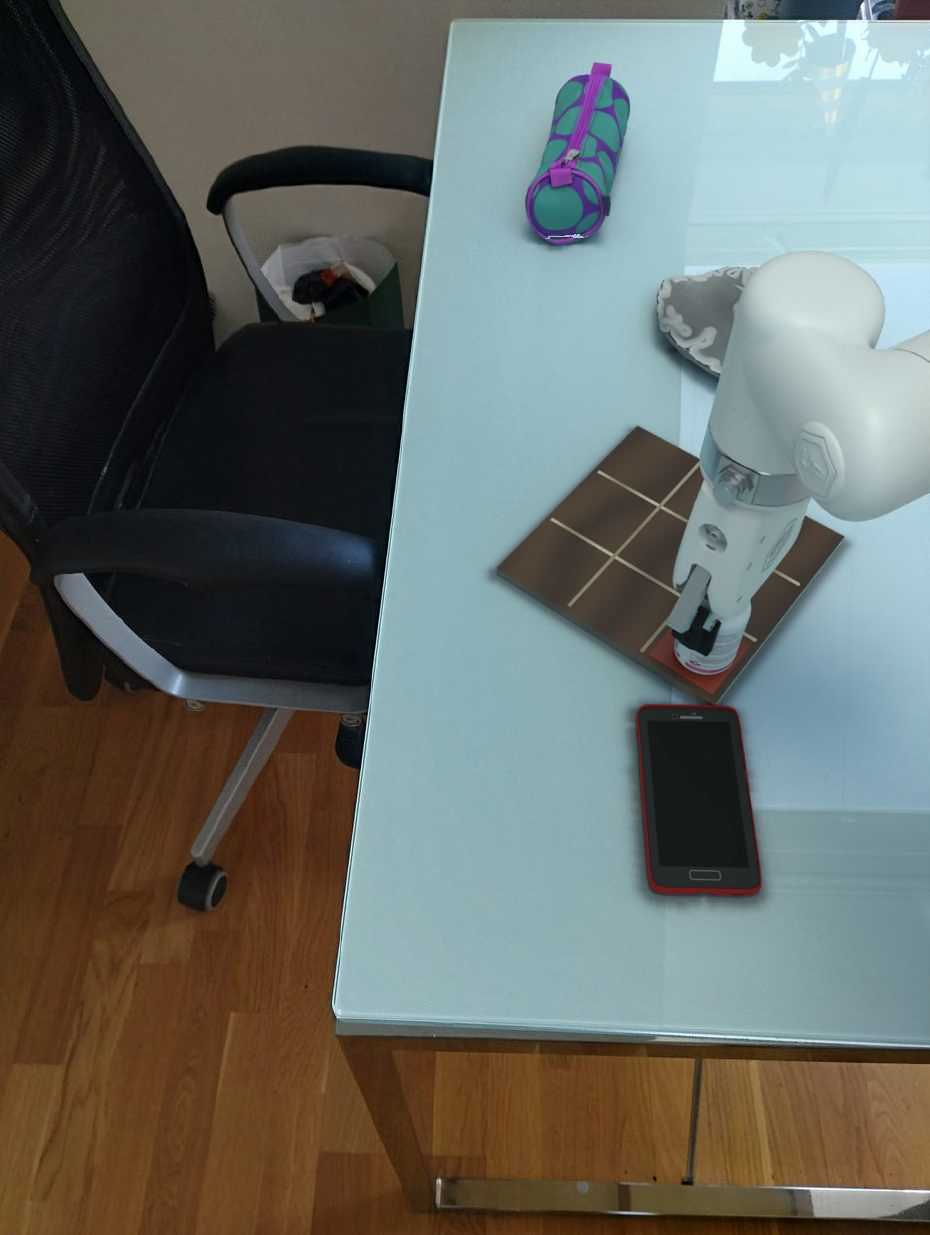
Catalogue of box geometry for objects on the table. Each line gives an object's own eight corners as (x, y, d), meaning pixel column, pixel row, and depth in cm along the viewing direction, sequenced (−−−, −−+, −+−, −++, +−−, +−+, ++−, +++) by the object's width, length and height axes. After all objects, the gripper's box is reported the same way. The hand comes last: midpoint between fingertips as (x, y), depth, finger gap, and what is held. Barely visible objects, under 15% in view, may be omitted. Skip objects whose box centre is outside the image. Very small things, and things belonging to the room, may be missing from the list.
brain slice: (659, 405, 100) (664, 382, 97) (647, 289, 109) (651, 265, 107) (869, 409, 99) (879, 385, 97) (838, 292, 109) (847, 267, 106)
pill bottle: (747, 656, 82) (773, 590, 75) (703, 687, 80) (725, 622, 74) (704, 616, 84) (725, 548, 77) (660, 645, 83) (677, 579, 76)
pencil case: (604, 256, 112) (614, 173, 105) (522, 246, 114) (525, 164, 106) (627, 146, 124) (637, 65, 116) (552, 138, 125) (558, 57, 117)
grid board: (841, 543, 90) (845, 535, 89) (712, 711, 81) (715, 704, 80) (636, 432, 98) (637, 424, 97) (496, 574, 89) (496, 566, 88)
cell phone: (648, 895, 73) (650, 890, 72) (634, 709, 81) (635, 702, 80) (761, 898, 72) (764, 893, 72) (735, 710, 81) (738, 704, 80)
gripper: (748, 567, 59) (693, 725, 74) (885, 400, 67) (810, 574, 82) (636, 504, 62) (604, 668, 77) (780, 350, 69) (726, 527, 84)
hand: (711, 618), depth 79 cm, fingers closed on pill bottle, 4 cm apart
